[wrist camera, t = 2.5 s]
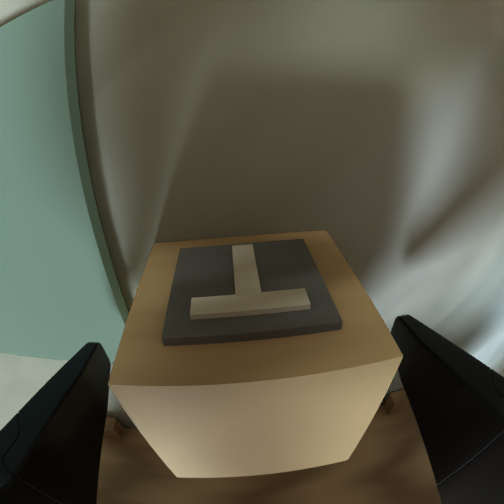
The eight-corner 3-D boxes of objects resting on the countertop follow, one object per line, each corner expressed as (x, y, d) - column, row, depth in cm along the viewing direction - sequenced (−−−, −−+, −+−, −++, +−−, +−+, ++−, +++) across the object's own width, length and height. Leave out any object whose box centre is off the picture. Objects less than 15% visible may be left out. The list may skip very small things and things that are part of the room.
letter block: (325, 218, 9) (408, 343, 4) (313, 345, 11) (347, 459, 7) (152, 232, 8) (101, 372, 4) (184, 356, 11) (176, 477, 7)
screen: (413, 386, 14) (461, 495, 8) (393, 419, 16) (427, 513, 10) (90, 414, 13) (68, 533, 7) (116, 444, 15) (105, 544, 9)
